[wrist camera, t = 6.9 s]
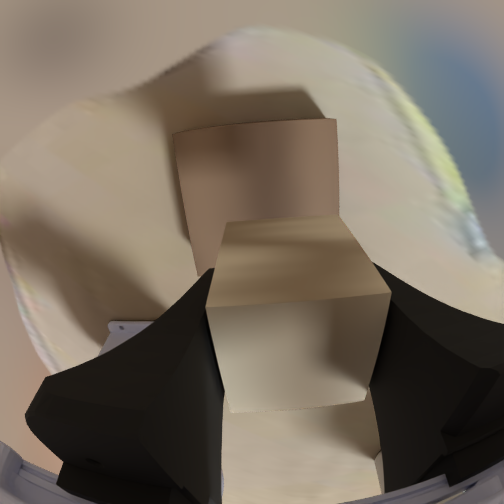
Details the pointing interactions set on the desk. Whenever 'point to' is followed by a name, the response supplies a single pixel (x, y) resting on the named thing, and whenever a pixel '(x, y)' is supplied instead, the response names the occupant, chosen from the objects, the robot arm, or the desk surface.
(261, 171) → the walnut block
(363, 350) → the maple block
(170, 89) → the desk surface
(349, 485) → the desk surface
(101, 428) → the robot arm
